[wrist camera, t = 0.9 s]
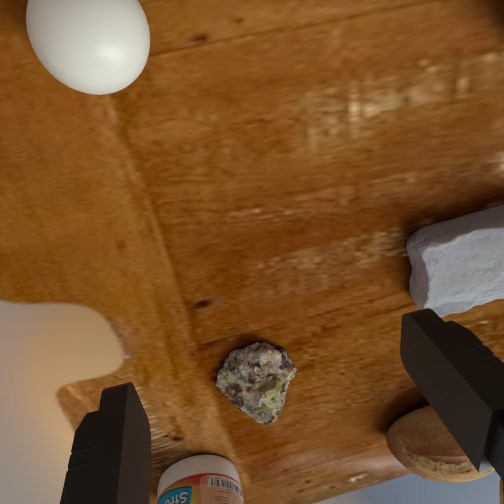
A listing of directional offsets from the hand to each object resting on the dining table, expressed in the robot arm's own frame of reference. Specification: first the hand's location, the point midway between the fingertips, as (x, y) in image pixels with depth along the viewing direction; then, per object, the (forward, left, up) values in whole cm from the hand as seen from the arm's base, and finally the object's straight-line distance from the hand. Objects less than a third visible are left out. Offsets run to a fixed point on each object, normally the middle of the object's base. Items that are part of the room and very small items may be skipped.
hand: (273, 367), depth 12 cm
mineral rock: (+23, +1, -21) cm, 31 cm away
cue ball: (-9, -5, -17) cm, 20 cm away
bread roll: (+36, +22, -21) cm, 47 cm away
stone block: (+14, +22, -21) cm, 33 cm away
